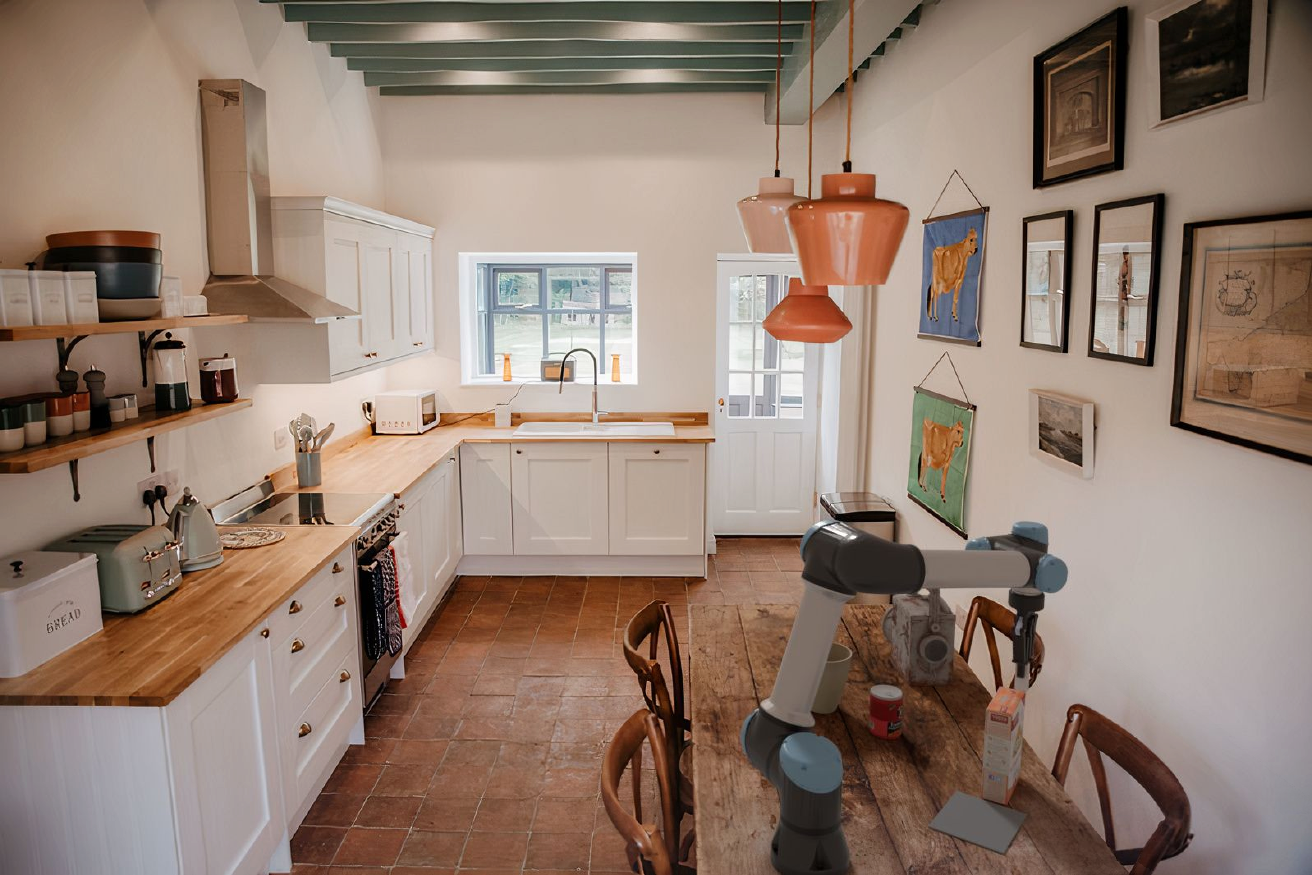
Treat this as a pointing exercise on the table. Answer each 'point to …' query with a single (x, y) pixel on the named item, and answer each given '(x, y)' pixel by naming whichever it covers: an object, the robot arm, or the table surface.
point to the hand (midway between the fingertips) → (1021, 689)
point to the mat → (978, 822)
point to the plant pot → (833, 679)
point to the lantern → (921, 638)
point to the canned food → (886, 711)
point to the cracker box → (1003, 745)
